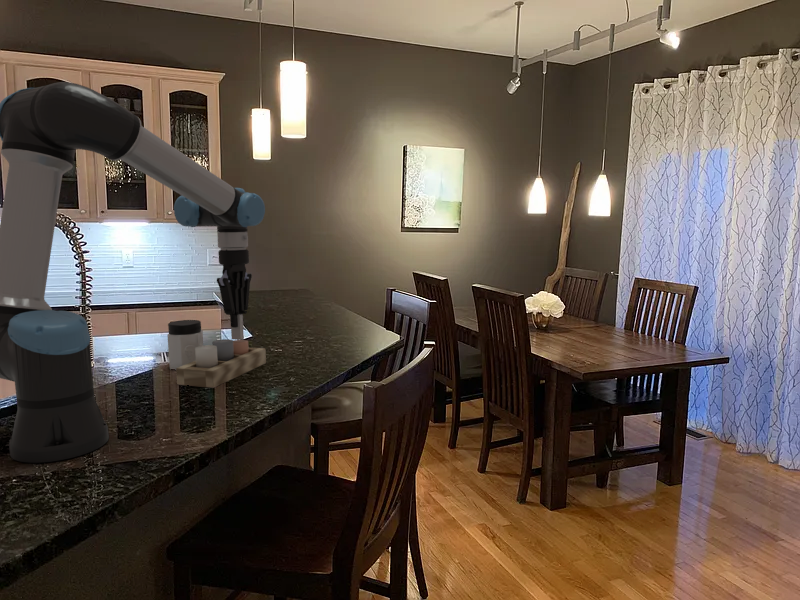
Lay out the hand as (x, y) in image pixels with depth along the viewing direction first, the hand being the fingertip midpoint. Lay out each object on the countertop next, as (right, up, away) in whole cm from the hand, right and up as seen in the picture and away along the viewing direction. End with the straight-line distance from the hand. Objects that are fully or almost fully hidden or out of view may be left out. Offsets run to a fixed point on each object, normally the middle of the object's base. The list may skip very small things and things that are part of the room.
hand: (237, 338), depth 159 cm
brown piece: (0, -6, +1) cm, 6 cm away
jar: (-14, -8, +1) cm, 16 cm away
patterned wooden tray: (-2, -8, -5) cm, 10 cm away
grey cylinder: (-2, -5, -6) cm, 8 cm away
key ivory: (-4, -6, -12) cm, 14 cm away
